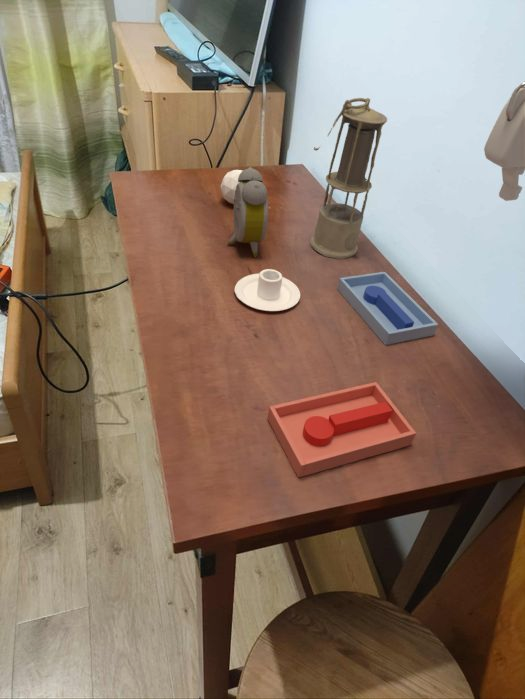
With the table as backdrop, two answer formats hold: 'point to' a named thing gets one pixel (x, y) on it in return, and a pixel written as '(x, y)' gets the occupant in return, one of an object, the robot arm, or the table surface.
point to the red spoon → (344, 423)
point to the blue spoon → (387, 307)
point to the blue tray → (375, 318)
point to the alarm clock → (250, 210)
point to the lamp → (348, 181)
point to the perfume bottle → (230, 185)
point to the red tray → (344, 446)
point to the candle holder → (267, 291)
